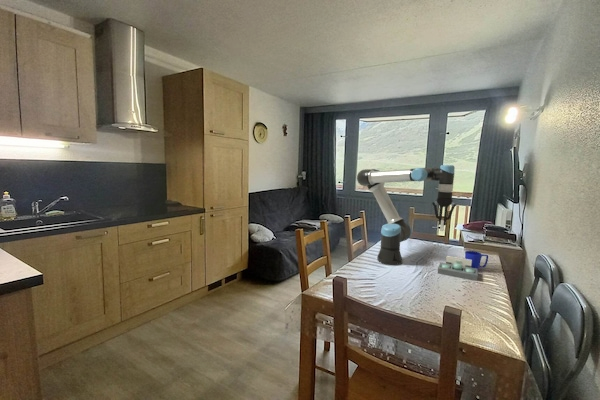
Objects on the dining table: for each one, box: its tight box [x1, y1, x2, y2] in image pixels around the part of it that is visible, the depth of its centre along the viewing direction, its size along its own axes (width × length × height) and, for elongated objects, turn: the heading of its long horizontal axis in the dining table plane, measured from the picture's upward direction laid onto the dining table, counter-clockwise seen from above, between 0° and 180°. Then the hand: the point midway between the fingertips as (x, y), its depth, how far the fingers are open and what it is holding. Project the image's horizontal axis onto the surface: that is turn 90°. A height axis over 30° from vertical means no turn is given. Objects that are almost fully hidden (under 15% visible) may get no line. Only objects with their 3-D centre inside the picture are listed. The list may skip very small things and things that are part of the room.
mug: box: [464, 250, 489, 271], centre depth 164 cm, size 8×12×10 cm
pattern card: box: [445, 255, 472, 267], centre depth 164 cm, size 13×1×7 cm, turn 58°
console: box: [437, 261, 479, 282], centre depth 158 cm, size 19×12×3 cm, turn 58°
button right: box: [465, 268, 475, 273], centre depth 154 cm, size 4×4×3 cm
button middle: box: [453, 263, 462, 271], centre depth 157 cm, size 4×4×3 cm
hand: (441, 230), depth 167 cm, fingers closed
